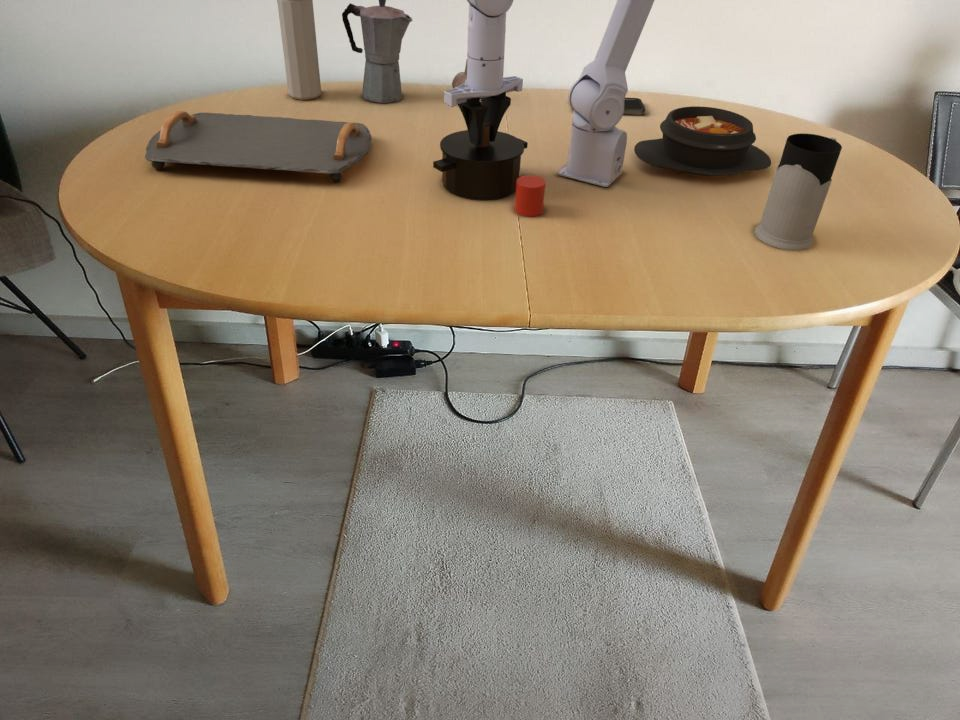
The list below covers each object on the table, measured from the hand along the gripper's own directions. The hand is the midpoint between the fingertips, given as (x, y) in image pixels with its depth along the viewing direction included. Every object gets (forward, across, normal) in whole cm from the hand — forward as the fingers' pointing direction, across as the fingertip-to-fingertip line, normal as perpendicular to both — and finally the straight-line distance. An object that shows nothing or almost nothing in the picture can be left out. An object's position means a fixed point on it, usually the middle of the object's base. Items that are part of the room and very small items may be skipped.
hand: (482, 141), depth 120 cm
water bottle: (+8, +3, -58) cm, 58 cm away
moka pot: (+8, -10, -47) cm, 49 cm away
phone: (+8, -47, -15) cm, 50 cm away
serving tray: (+8, +25, -32) cm, 41 cm away
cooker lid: (+1, 0, 0) cm, 1 cm away
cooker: (+7, 0, 0) cm, 7 cm away
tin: (+7, 0, +12) cm, 14 cm away
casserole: (+8, -39, +16) cm, 43 cm away
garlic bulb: (+8, -26, -38) cm, 47 cm away
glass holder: (+8, -30, +42) cm, 52 cm away
